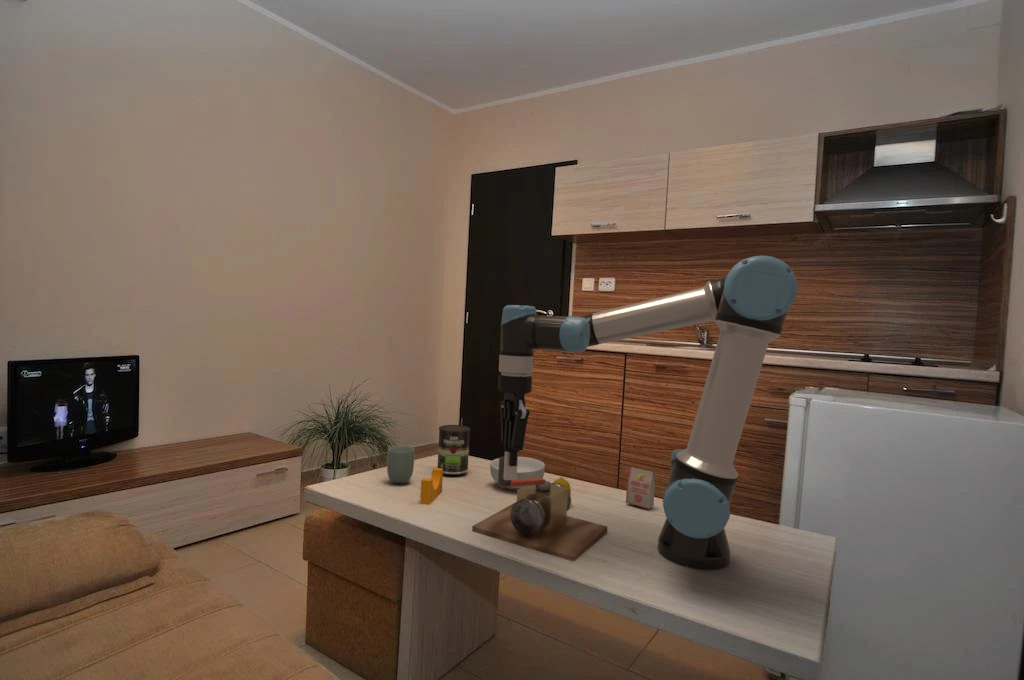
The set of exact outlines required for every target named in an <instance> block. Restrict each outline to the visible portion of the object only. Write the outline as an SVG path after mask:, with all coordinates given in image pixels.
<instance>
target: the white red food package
mask: <svg viewBox="0 0 1024 680" xmlns="http://www.w3.org/2000/svg"><path fill="white" fill-rule="evenodd" d="M655 488H656V484H655V475H654V471H651V470H650V471H649V470H646V469H641V468H637V467H632V466H630V467H629V473H628V477H627V482H626V497H625V503H626V504H629V505H632V506H636V507H640V508H643V509H648V510H650V509H651V508H653V507H654V505H655V503H654V502H655Z"/></svg>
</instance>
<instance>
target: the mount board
mask: <svg viewBox="0 0 1024 680" xmlns="http://www.w3.org/2000/svg"><path fill="white" fill-rule="evenodd" d="M516 502H517V501H515V502H514V503H512V504H510V505H508V506H506V507H504V508H503V509H501V510H499V511H497V512H495V513H493V514H492V515H490V516H488V517H486V518H484V519H482V520H481V521H479V522H477V523H475V524H473V525H472V527H471V532H474V533H476V532H477V534H480V535H484V536H487V537H490V538H495V539H496V540H500V541H503V542H507V543H510V544H514V545H517V546H521V547H525V548H527V549H529V550H530V549H531V550H534V551H537V552H540V553H541V552H542V553H544V554H548V555H551V556H554V557H558V558H561V559H565V560H568V561H571V562H575V561H576V560H577V559H578V558H579V557H581V556H582V555H583V554H584V553H585V552H587V551H588V550H589V549H590V548H591V547H592V546H594V545H595V544H596V543H597V542H598V541H599V540H601V539H602V538H603V537H604V536H605V535H606V534H607V533H608V528H609V526H607V525H603V524H601V523H600V524H599V523H595V522H591V521H588V520H584V519H581V518H577V517H572V516H569V515H567V518H566V525H565V526H564V527H563V528H562V529H560V530H559V531H558V532H556V533H555V534H554V535H552V536H551V537H550V538H549V537H546V536H542V535H539V534H535V535H533V536H525V535H522V534H520V533H519V532H518V531H517V530H516V529H515V528H514V526H513V524H512V522H511V517H510V513H511V509H512V506H513V505H514V504H515V503H516Z"/></svg>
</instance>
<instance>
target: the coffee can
mask: <svg viewBox="0 0 1024 680" xmlns="http://www.w3.org/2000/svg"><path fill="white" fill-rule="evenodd" d="M470 435H471V428H470V427H469V426H466V425H461V424H446V425H445V424H444V425H441V426H439V427H438V447H437V448H438V449H437V451H438V453H437V467H436V468H441V469H443V474H445V475H461V474H465V473H468V471H469V453H470V451H469V450H470V438H471V437H470Z"/></svg>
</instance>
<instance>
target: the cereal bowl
mask: <svg viewBox="0 0 1024 680" xmlns="http://www.w3.org/2000/svg"><path fill="white" fill-rule="evenodd" d="M489 467H490V468H489V469H490V475H491V478H492V479H493V480H494V482H496V484H498V472H499V457H498V458H495V459H493V460H491V461H490V466H489ZM545 467H546V465H545V463H544V462H543V461H541V460H539V459H536V458H532V457H526V456H518V464H517V480H518V479H531V478H543V479H544V475H545V471H546V469H545ZM522 487H524V486H516V487H505V488H506V489H508V490H513V491H517V490H518V489H520V488H522Z"/></svg>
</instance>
